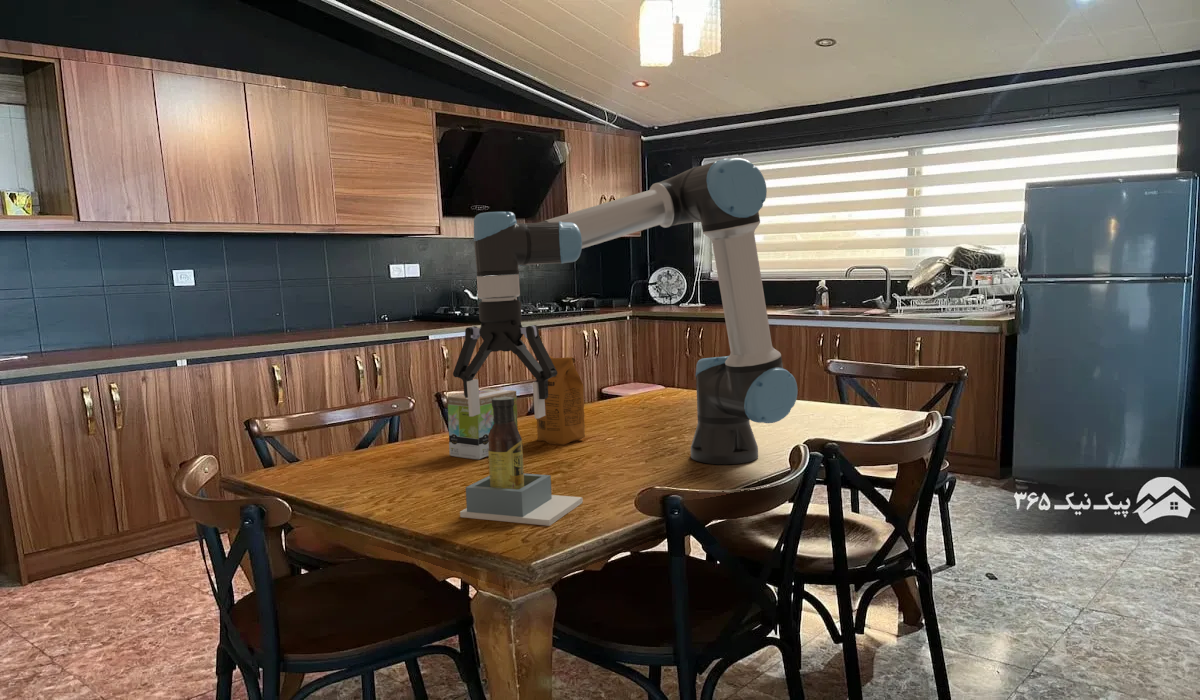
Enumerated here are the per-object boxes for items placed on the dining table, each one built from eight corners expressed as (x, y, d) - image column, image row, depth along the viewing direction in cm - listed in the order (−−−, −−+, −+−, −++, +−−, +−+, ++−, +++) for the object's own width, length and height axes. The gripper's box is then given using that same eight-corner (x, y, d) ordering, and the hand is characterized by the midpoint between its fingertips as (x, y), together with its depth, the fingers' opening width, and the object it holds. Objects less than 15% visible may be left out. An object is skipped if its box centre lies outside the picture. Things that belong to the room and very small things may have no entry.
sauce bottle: (523, 509, 143) (517, 400, 141) (488, 510, 143) (482, 402, 141) (527, 499, 149) (521, 394, 147) (493, 500, 150) (488, 396, 148)
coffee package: (561, 434, 213) (557, 352, 211) (590, 440, 203) (587, 355, 201) (531, 440, 207) (526, 356, 204) (559, 447, 197) (555, 359, 195)
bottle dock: (582, 502, 149) (581, 474, 149) (549, 525, 136) (548, 494, 136) (499, 495, 156) (497, 468, 156) (460, 517, 143) (458, 487, 143)
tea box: (480, 460, 186) (477, 398, 185) (448, 456, 192) (445, 396, 190) (520, 447, 199) (517, 388, 198) (489, 444, 204) (485, 387, 203)
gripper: (571, 296, 141) (577, 413, 143) (452, 300, 151) (459, 410, 153) (552, 298, 134) (559, 422, 136) (428, 302, 144) (437, 418, 146)
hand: (506, 416), depth 144 cm, fingers open, 13 cm apart
